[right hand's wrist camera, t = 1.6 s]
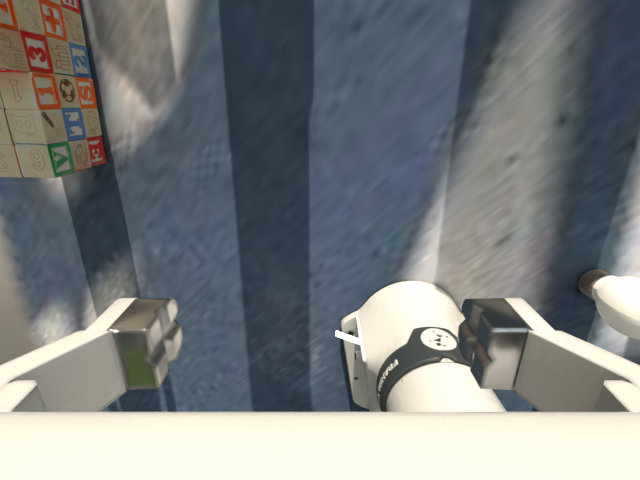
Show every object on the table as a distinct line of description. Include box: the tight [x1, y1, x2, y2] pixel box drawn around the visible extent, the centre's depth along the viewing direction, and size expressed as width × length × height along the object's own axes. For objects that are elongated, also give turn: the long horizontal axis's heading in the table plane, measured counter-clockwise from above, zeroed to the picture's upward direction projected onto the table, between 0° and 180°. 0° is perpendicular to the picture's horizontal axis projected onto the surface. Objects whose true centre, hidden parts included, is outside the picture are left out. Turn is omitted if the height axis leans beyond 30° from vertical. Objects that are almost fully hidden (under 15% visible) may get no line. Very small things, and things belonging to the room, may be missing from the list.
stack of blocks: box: [0, 0, 106, 178], centre depth 33 cm, size 21×6×12 cm, turn 178°
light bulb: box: [578, 269, 640, 340], centre depth 43 cm, size 7×7×11 cm
